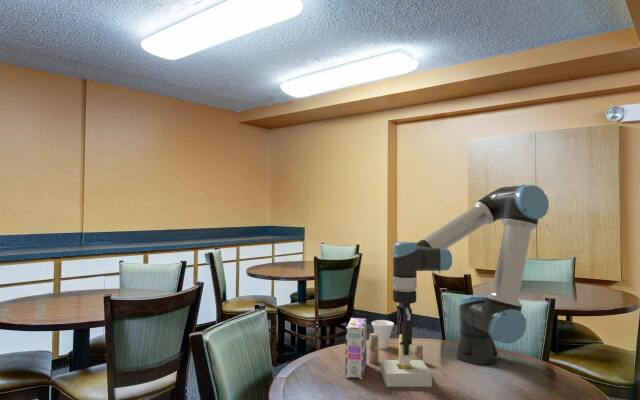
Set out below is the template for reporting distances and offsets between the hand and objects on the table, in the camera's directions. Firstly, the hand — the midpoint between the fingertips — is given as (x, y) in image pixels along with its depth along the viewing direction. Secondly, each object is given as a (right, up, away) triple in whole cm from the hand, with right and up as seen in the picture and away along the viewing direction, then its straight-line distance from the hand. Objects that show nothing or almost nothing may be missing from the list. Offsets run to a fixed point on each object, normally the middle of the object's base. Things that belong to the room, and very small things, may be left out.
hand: (404, 362), depth 134 cm
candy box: (-15, -6, +6) cm, 17 cm away
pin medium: (-8, -6, +15) cm, 18 cm away
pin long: (0, -5, 0) cm, 5 cm away
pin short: (+8, -6, +15) cm, 18 cm away
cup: (-2, -7, +32) cm, 33 cm away
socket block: (0, -5, 0) cm, 5 cm away
